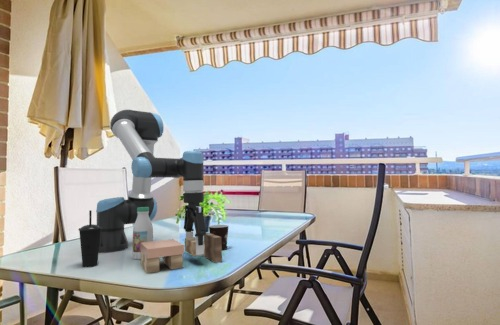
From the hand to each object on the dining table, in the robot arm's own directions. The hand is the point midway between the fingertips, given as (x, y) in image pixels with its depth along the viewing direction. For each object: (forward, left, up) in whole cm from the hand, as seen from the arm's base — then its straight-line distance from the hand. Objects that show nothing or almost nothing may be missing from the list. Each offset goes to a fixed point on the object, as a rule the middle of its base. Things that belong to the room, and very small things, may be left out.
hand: (194, 251), depth 115 cm
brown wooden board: (0, +7, -4) cm, 8 cm away
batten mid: (0, -8, -4) cm, 9 cm away
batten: (0, 0, 0) cm, 0 cm away
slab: (0, -12, +1) cm, 12 cm away
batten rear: (0, -16, -4) cm, 16 cm away
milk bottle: (-19, -15, -4) cm, 25 cm away
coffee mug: (-15, +15, -4) cm, 22 cm away
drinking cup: (-17, -34, -4) cm, 38 cm away
